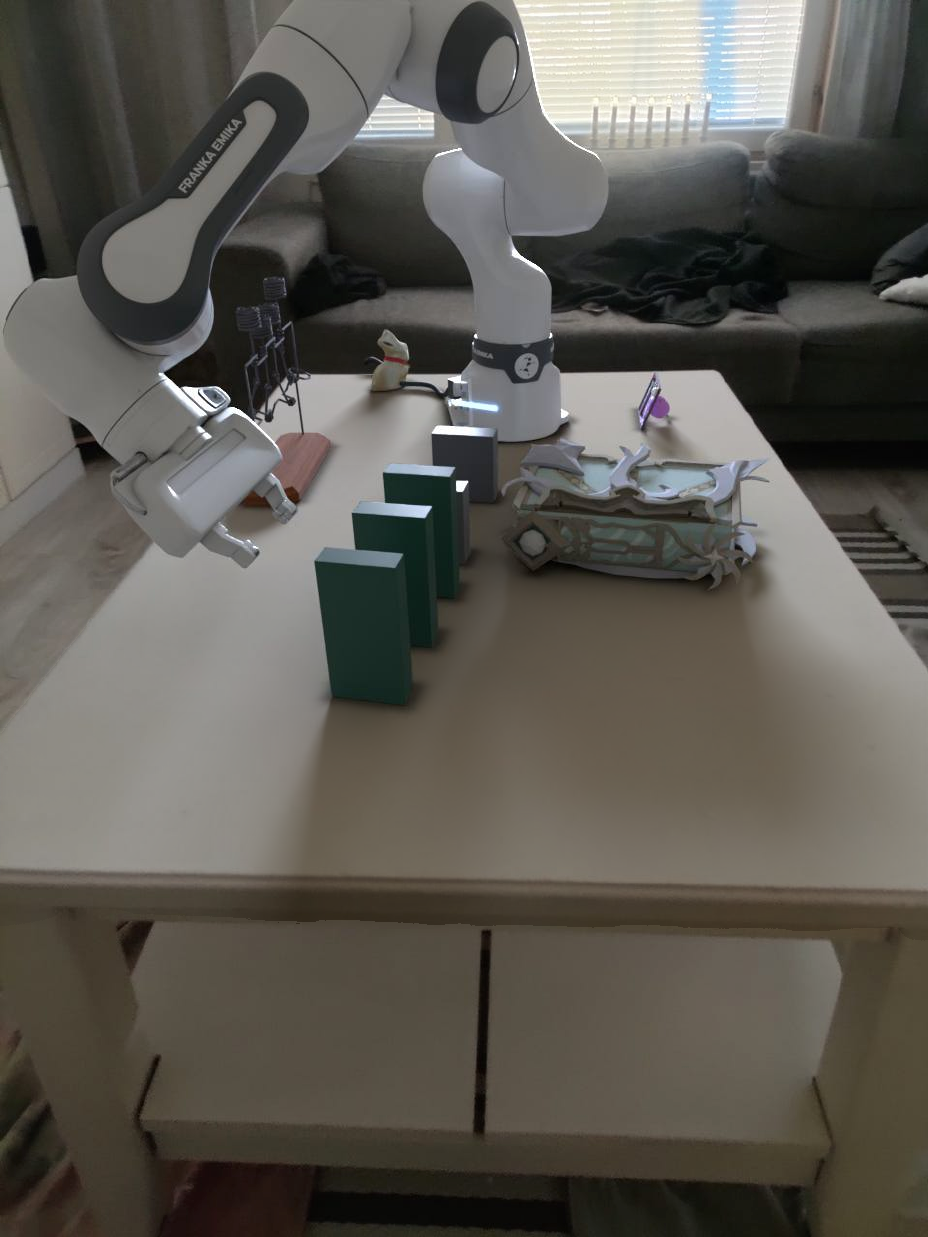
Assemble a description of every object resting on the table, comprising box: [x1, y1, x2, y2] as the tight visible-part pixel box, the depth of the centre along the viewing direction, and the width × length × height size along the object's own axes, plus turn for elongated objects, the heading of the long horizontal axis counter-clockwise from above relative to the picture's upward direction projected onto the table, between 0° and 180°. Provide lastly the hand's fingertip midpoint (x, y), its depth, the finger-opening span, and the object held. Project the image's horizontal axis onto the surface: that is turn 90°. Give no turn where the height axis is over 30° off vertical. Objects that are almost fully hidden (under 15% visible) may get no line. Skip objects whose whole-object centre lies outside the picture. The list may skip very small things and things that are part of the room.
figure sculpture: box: [234, 276, 331, 507], centre depth 117 cm, size 35×9×25 cm, turn 175°
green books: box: [313, 462, 461, 706], centre depth 85 cm, size 22×7×14 cm, turn 167°
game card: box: [637, 371, 671, 430], centre depth 139 cm, size 7×5×9 cm
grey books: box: [430, 425, 499, 565], centre depth 108 cm, size 20×8×9 cm, turn 167°
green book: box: [351, 500, 439, 648], centre depth 85 cm, size 3×7×14 cm, turn 77°
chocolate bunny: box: [370, 329, 411, 392], centre depth 156 cm, size 6×8×10 cm
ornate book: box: [499, 437, 770, 591], centre depth 103 cm, size 23×10×30 cm
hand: (273, 538), depth 86 cm, fingers open, 8 cm apart
